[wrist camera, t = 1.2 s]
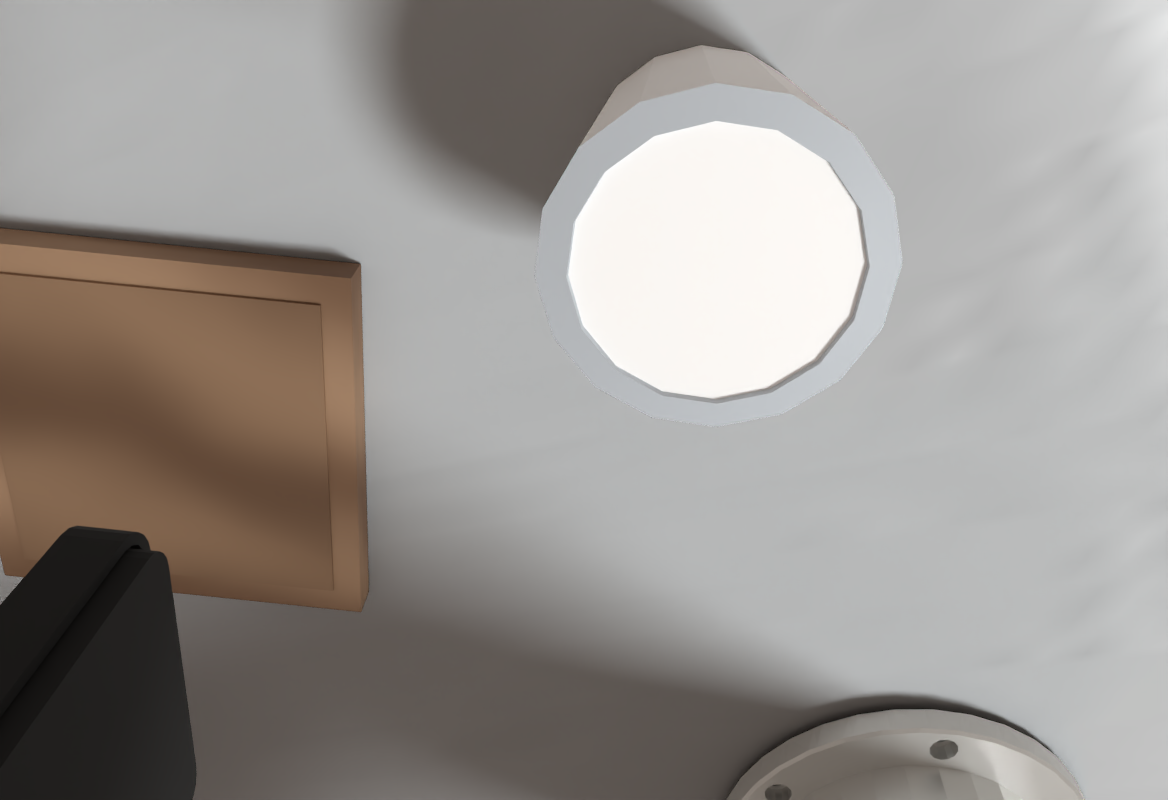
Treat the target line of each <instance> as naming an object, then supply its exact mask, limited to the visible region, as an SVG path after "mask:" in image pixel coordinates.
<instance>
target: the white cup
mask: <svg viewBox="0 0 1168 800" xmlns="http://www.w3.org/2000/svg"><path fill="white" fill-rule="evenodd" d="M902 264H903V261H902V253H901V245H900V237H899V230H898V222H897V214H896V206H895V198H894V194H893V192H892V191H891V189H890V188H889V186H888V184H887V183H886V181H885V180H884V178H883V177H882V175H881V173H880V172H879V170H878V169H877V167H876V166H875V164H874V163H873V161H872V159H871V158H870V156H869V155H868V153H867V152H866V150H865V148H864V147H863V145H862V144H861V142H860V141H859V139H858V137H857V136H856V134H854V133H853V132H852V131H851V130H850V129H848V128H847V127H846V126H845V125H844V124H842V123H841V122H840V121H839V120H838V119H836V118H835V117H834V116H833V115H832V114H830V113H829V112H828V111H827V110H826V109H824V108H823V107H822V106H821V105H820V104H818V103H817V102H816V101H815V100H814V99H812V98H811V97H810V96H809V95H808V94H806V93H805V92H804V91H803V90H802V89H800V88H799V87H798V86H797V85H796V84H795V83H793V82H792V81H791V80H790V79H789V78H787V77H786V76H784V75H783V74H781V73H780V72H778V71H777V70H775V69H773V68H772V67H770V66H769V65H767V64H766V63H764V62H762V61H761V60H759V59H758V58H756V57H755V56H753V55H751V54H750V53H748V52H744V51H737V50H731V49H724V48H717V47H711V46H704V45H699V46H695V47H691V48H688V49H684V50H680V51H676V52H672V53H668V54H664V55H660V56H657V57H654V58H653V59H651V60H650V61H649V62H647V63H646V64H645V65H643V66H642V67H641V68H640V69H638V70H637V71H636V72H634V73H633V74H632V75H630V76H629V77H628V78H626V79H625V80H624V81H622V82H621V83H620V84H618V85H617V86H616V88H615V90H614V91H613V93H612V94H611V96H610V98H609V99H608V101H607V102H606V104H605V106H604V107H603V109H602V110H601V112H600V114H599V115H598V117H597V119H596V120H595V122H594V123H593V125H592V127H591V128H590V130H589V131H588V133H587V135H586V136H585V138H584V139H583V141H582V143H581V144H580V146H579V148H578V149H577V151H576V153H575V154H574V156H573V158H572V159H571V161H570V163H569V165H568V166H567V168H566V170H565V171H564V173H563V175H562V176H561V178H560V180H559V182H558V183H557V185H556V187H555V188H554V190H553V192H552V193H551V195H550V197H549V199H548V200H547V202H546V204H545V205H544V207H543V209H542V216H541V225H540V233H539V241H538V250H537V258H536V266H535V275H534V276H535V280H536V283H537V286H538V289H539V293H540V296H541V299H542V303H543V306H544V309H545V312H546V316H547V319H548V322H549V325H550V329H551V332H552V335H553V338H554V339H555V340H556V342H557V343H558V344H559V345H560V346H561V348H562V349H563V350H564V351H565V352H566V354H567V355H568V356H569V357H570V358H571V360H572V361H573V362H574V363H575V364H576V366H577V367H578V368H579V369H580V370H581V371H582V373H583V374H584V375H585V376H586V377H587V379H588V380H589V381H590V382H591V383H592V385H593V386H594V387H596V388H597V389H599V390H601V391H603V392H605V393H607V394H609V395H610V396H612V397H614V398H616V399H618V400H620V401H621V402H623V403H625V404H627V405H629V406H631V407H632V408H634V409H636V410H638V411H640V412H642V413H644V414H645V415H647V416H649V417H651V418H657V419H664V420H671V421H678V422H684V423H691V424H698V425H705V426H712V427H720V426H725V425H730V424H735V423H740V422H745V421H751V420H756V419H761V418H766V417H771V416H777V415H782V414H783V413H785V412H787V411H789V410H790V409H792V408H794V407H795V406H797V405H799V404H801V403H802V402H804V401H806V400H807V399H809V398H811V397H813V396H814V395H816V394H818V393H819V392H821V391H823V390H824V389H826V388H828V387H830V386H831V385H833V384H835V383H836V382H838V381H840V380H841V379H842V377H843V376H844V375H845V374H846V373H847V371H848V370H849V369H850V368H851V366H852V365H853V364H854V363H855V362H856V360H857V359H858V358H859V357H860V355H861V354H862V353H863V352H864V350H865V349H866V348H867V347H868V346H869V344H870V343H871V342H872V341H873V339H874V338H875V337H876V336H877V335H878V333H879V332H880V331H881V330H882V328H883V326H884V323H885V320H886V316H887V313H888V310H889V306H890V303H891V300H892V297H893V293H894V290H895V287H896V283H897V280H898V277H899V274H900V270H901V267H902Z"/></svg>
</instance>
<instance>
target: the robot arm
mask: <svg viewBox="0 0 1168 800" xmlns="http://www.w3.org/2000/svg"><path fill="white" fill-rule="evenodd" d="M195 785H196V762H195V755H194V747H193V740H192V733H191V725H190V718H189V710H188V703H187V696H186V688H185V681H184V674H183V666H182V659H181V651H180V644H179V637H178V629H177V622H176V615H175V607H174V600H173V593H172V585H171V578H170V570H169V564H168V560H167V557H166V556H165V554H164V553H162V552H160V551H152V550H151V549H150V545H149V542H148V540H147V538H146V537H145V535H144V534H142V533H139V532H134V531H124V530H115V529H105V528H96V527H86V526H73V527H70V528H68V529H67V530H66V531H65V532H64V533H62V534H61V535H60V536H59V538H58V539H57V540H56V541H55V542H54V543H53V545H52V546H51V547H50V548H49V549H48V550H47V551H46V553H45V554H44V555H43V556H42V557H41V558H40V560H39V561H38V562H37V563H36V564H35V565H34V567H33V568H32V569H31V570H30V571H29V572H28V574H27V575H26V576H25V577H24V578H23V579H22V580H21V582H20V583H19V584H18V585H17V586H16V587H15V589H14V590H13V591H12V592H11V593H10V594H9V596H8V597H7V598H6V599H5V600H4V601H3V603H2V604H1V605H0V800H192V798H193V795H194V790H195ZM726 800H1085V798H1084V796H1083V794H1082V792H1081V790H1080V788H1079V785H1078V783H1077V781H1076V779H1075V778H1074V776H1073V775H1072V774H1071V773H1070V772H1069V770H1068V769H1067V768H1066V767H1065V765H1064V764H1063V763H1062V762H1061V760H1060V759H1059V758H1058V757H1057V756H1055V755H1054V754H1053V753H1052V752H1050V751H1049V750H1048V749H1046V748H1045V747H1044V746H1042V745H1041V744H1040V743H1039V742H1037V741H1036V740H1035V739H1033V738H1031V737H1029V736H1027V735H1025V734H1023V733H1021V732H1019V731H1017V730H1015V729H1012V728H1010V727H1008V726H1006V725H1004V724H1001V723H997V722H994V721H991V720H987V719H984V718H981V717H977V716H974V715H970V714H963V713H956V712H949V711H941V710H934V709H894V710H887V711H880V712H872V713H865V714H858V715H854V716H851V717H847V718H843V719H840V720H836V721H833V722H829V723H826V724H822V725H820V726H818V727H815V728H813V729H811V730H809V731H806V732H804V733H802V734H800V735H797V736H795V737H793V738H791V739H789V740H787V741H786V742H784V743H783V744H781V745H780V746H778V747H777V748H775V749H774V750H772V751H771V752H769V753H767V754H766V755H764V756H763V757H762V758H761V759H760V760H759V761H758V762H757V763H756V764H754V765H753V766H752V767H751V768H750V769H749V770H748V771H747V772H746V773H745V774H744V775H743V776H742V777H741V778H740V780H739V781H738V783H737V784H736V786H735V787H734V789H733V790H732V792H731V793H730V795H729V796H728V798H727V799H726Z"/></svg>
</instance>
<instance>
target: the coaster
mask: <svg viewBox="0 0 1168 800" xmlns="http://www.w3.org/2000/svg"><path fill="white" fill-rule="evenodd" d="M73 526H86V527H96V528H105V529H115V530H124V531H134V532H139V533H142V534H144V535H145V537H146V538H147V540H148V542H149V545H150V549H151V550H152V551H160V552H162V553H164V554H165V556H166V557H167V560H168V564H169V570H170V578H171V585H172V593H182V594H192V595H201V596H211V597H220V598H230V599H240V600H249V601H259V602H269V603H278V604H288V605H298V606H307V607H317V608H327V609H336V610H346V611H356V612H361V611H362V608H363V606H364V603H365V600H366V597H367V595H368V592H369V574H368V534H367V494H366V454H365V414H364V374H363V334H362V294H361V264H357V263H347V262H337V261H327V260H317V259H307V258H297V257H287V256H277V255H266V254H256V253H246V252H236V251H226V250H216V249H206V248H196V247H186V246H176V245H166V244H156V243H146V242H136V241H125V240H115V239H105V238H95V237H85V236H75V235H65V234H55V233H45V232H35V231H25V230H15V229H5V228H0V556H1V560H2V564H3V569H4V573H5V575H8V576H18V577H25V576H26V575H27V574H28V572H29V571H30V570H31V569H32V568H33V567H34V565H35V564H36V563H37V562H38V561H39V560H40V558H41V557H42V556H43V555H44V554H45V553H46V551H47V550H48V549H49V548H50V547H51V546H52V545H53V543H54V542H55V541H56V540H57V539H58V538H59V536H60V535H61V534H62V533H64V532H65V531H66V530H67V529H68V528H70V527H73Z"/></svg>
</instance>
